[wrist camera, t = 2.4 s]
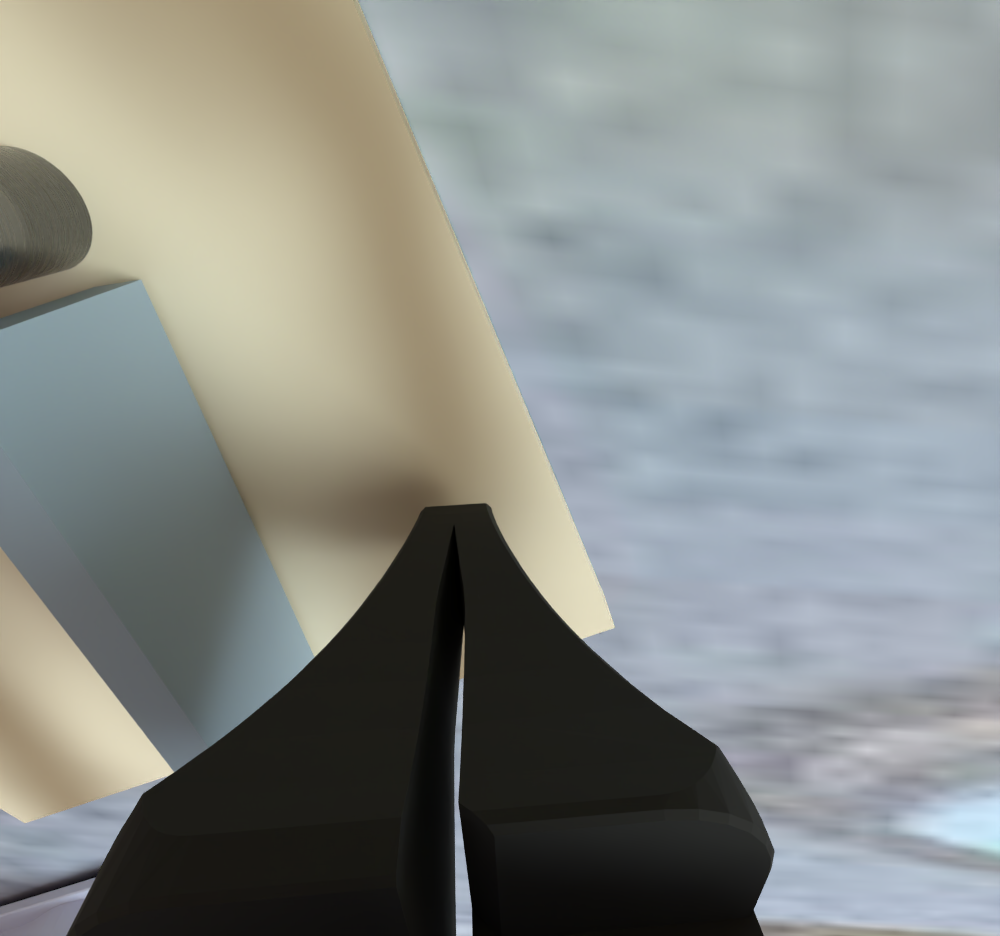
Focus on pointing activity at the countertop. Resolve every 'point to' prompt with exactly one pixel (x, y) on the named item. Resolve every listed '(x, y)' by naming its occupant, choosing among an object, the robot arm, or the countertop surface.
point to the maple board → (266, 326)
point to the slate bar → (136, 521)
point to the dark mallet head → (38, 218)
